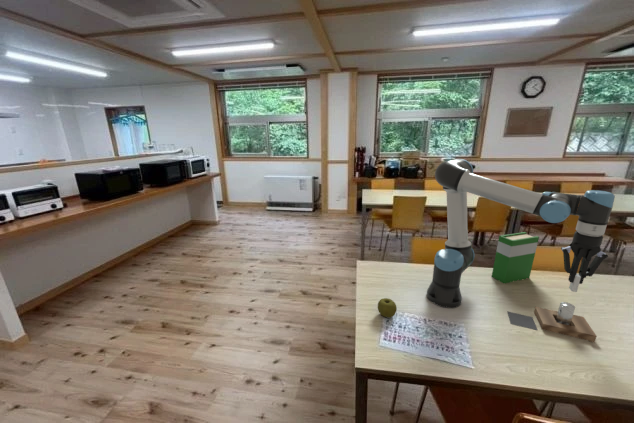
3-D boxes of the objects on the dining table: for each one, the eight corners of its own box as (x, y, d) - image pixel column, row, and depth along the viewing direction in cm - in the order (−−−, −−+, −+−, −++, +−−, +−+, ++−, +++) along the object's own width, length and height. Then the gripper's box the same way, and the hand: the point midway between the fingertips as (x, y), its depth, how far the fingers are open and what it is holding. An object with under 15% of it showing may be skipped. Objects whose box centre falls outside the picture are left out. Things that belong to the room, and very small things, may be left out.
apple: (379, 308, 123) (380, 294, 121) (397, 312, 120) (398, 298, 118) (375, 318, 117) (376, 303, 115) (394, 323, 114) (395, 308, 112)
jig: (541, 329, 109) (543, 323, 108) (533, 312, 119) (535, 306, 118) (594, 342, 102) (596, 336, 101) (581, 322, 112) (583, 316, 111)
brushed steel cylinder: (556, 328, 110) (562, 307, 107) (552, 321, 113) (558, 300, 110) (570, 331, 108) (577, 309, 105) (566, 324, 112) (572, 303, 109)
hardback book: (516, 271, 153) (524, 231, 146) (529, 278, 146) (539, 236, 139) (491, 276, 148) (499, 235, 142) (503, 283, 142) (512, 240, 135)
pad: (510, 324, 112) (510, 323, 112) (506, 312, 120) (507, 311, 119) (537, 331, 108) (537, 330, 108) (532, 317, 116) (532, 316, 116)
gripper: (569, 234, 98) (554, 290, 105) (618, 239, 93) (599, 299, 100) (562, 227, 105) (548, 281, 112) (608, 232, 99) (590, 288, 106)
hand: (572, 289), depth 106 cm, fingers closed
